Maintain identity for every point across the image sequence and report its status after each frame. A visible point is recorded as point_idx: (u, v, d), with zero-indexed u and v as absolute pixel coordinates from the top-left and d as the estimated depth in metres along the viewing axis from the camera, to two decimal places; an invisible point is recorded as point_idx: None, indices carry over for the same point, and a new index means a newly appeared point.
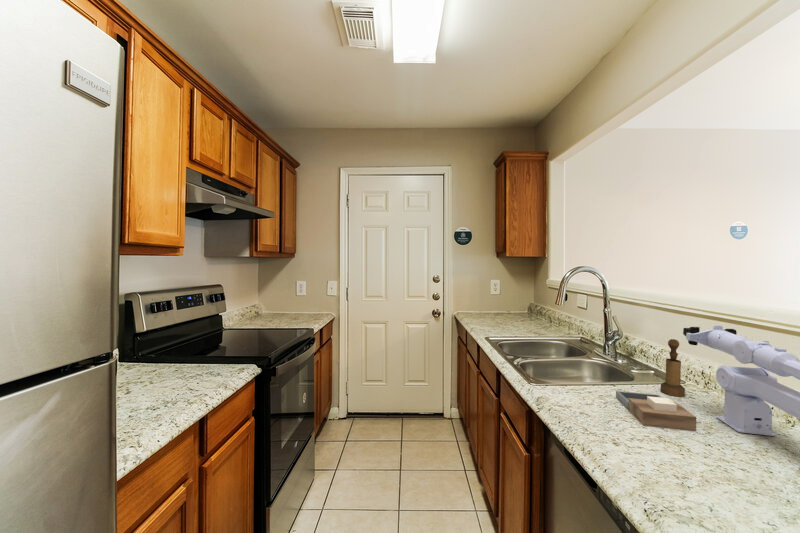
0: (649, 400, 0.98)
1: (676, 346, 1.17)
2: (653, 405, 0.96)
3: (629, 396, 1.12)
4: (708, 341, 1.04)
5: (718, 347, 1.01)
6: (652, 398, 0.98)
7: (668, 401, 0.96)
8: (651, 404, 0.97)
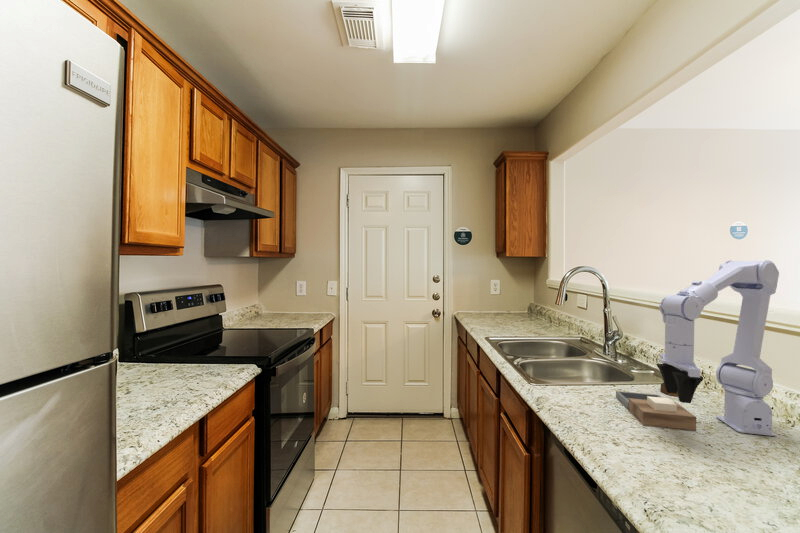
0: (649, 400, 0.98)
1: None
2: (653, 405, 0.96)
3: (629, 396, 1.12)
4: (688, 361, 0.86)
5: (691, 345, 0.86)
6: (652, 398, 0.98)
7: (668, 401, 0.96)
8: (651, 404, 0.97)
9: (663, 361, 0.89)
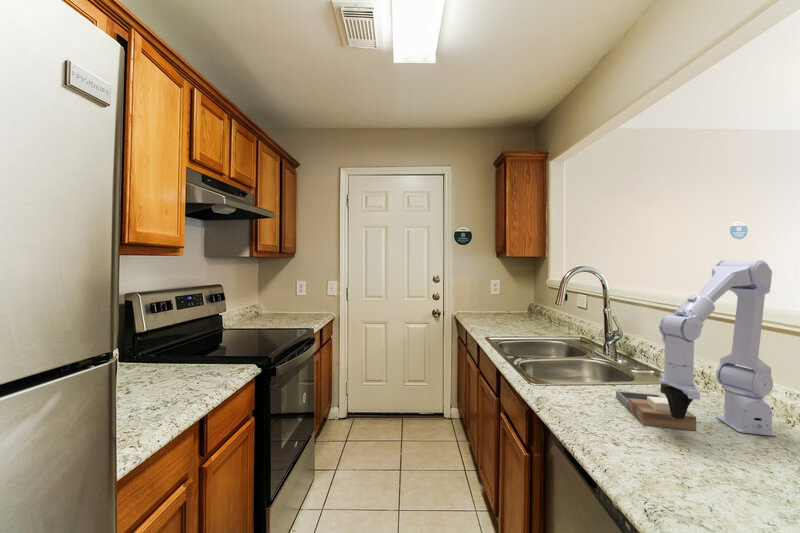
0: (649, 400, 0.98)
1: None
2: (653, 405, 0.96)
3: (629, 396, 1.12)
4: (687, 382, 0.86)
5: (690, 366, 0.86)
6: (652, 398, 0.98)
7: None
8: (651, 404, 0.97)
9: (663, 381, 0.89)
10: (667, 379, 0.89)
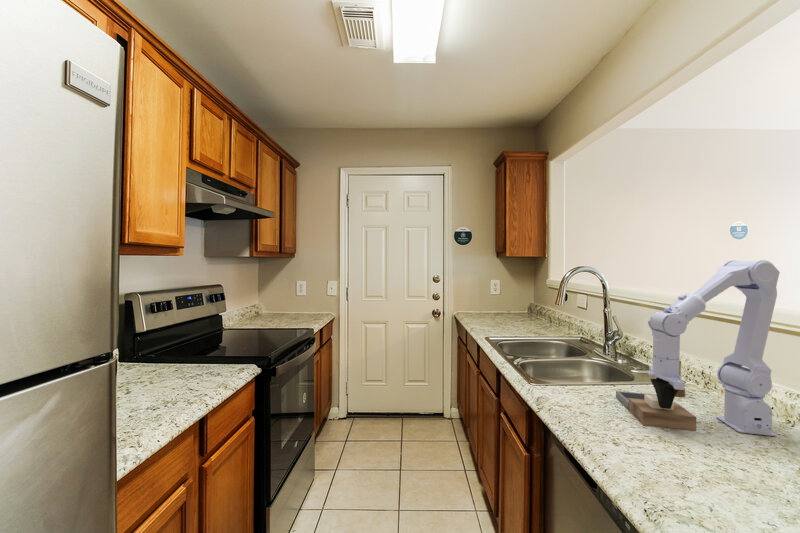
0: (646, 398, 1.00)
1: None
2: (650, 403, 0.98)
3: (629, 396, 1.12)
4: (674, 374, 0.92)
5: (676, 359, 0.92)
6: (649, 396, 1.00)
7: None
8: (648, 402, 0.99)
9: (651, 374, 0.95)
10: (655, 371, 0.95)
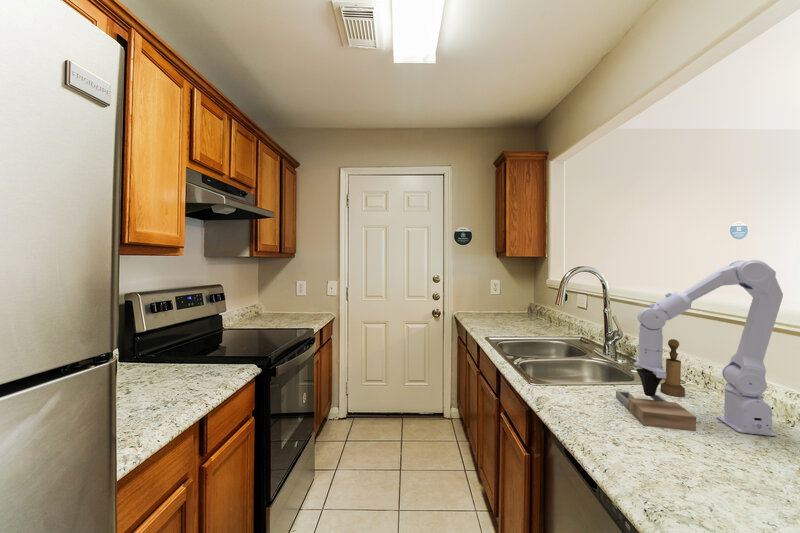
0: None
1: (676, 346, 1.17)
2: (630, 396, 1.11)
3: None
4: (657, 364, 1.01)
5: (660, 351, 1.01)
6: None
7: None
8: (631, 397, 1.10)
9: (637, 364, 1.04)
10: (640, 362, 1.04)
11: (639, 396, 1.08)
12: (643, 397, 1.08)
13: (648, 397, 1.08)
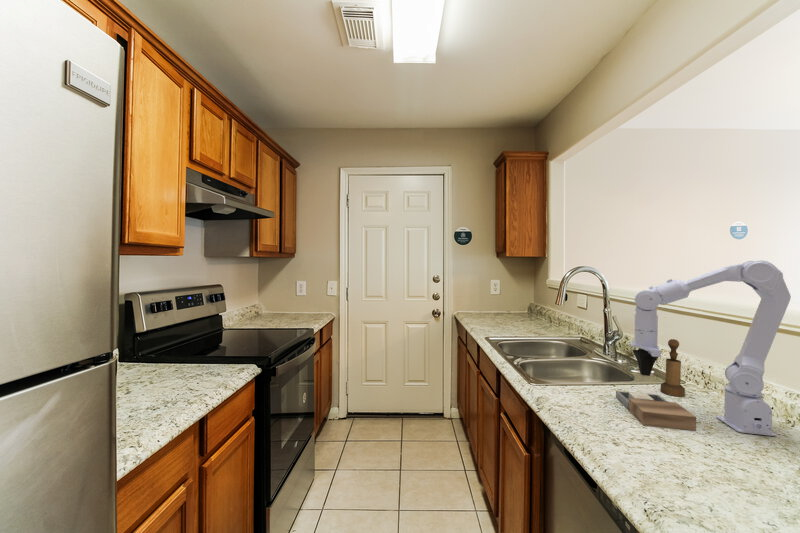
0: None
1: (676, 346, 1.17)
2: (630, 396, 1.11)
3: None
4: (652, 344, 1.04)
5: (655, 331, 1.04)
6: None
7: None
8: (631, 397, 1.10)
9: (633, 345, 1.07)
10: (636, 343, 1.07)
11: (639, 396, 1.08)
12: (643, 397, 1.08)
13: (648, 397, 1.08)
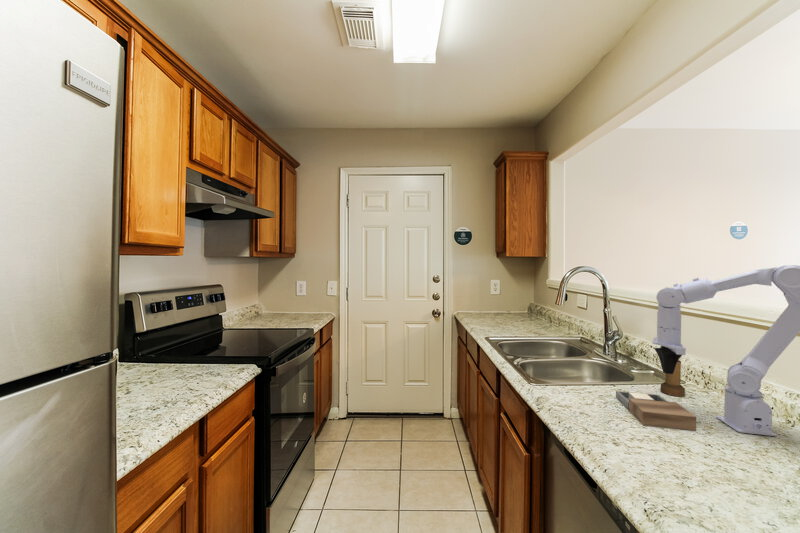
0: None
1: None
2: (630, 396, 1.11)
3: None
4: (676, 342, 1.03)
5: (678, 329, 1.03)
6: None
7: None
8: (631, 397, 1.10)
9: (655, 343, 1.06)
10: (659, 341, 1.06)
11: (639, 396, 1.08)
12: (643, 397, 1.08)
13: (648, 397, 1.08)
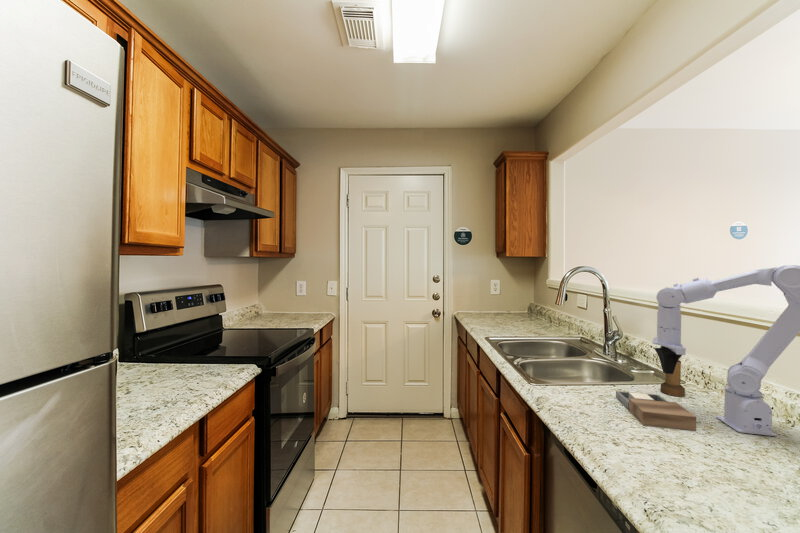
0: None
1: None
2: (630, 396, 1.11)
3: None
4: (676, 342, 1.03)
5: (678, 329, 1.03)
6: None
7: None
8: (631, 397, 1.10)
9: (655, 343, 1.06)
10: (659, 341, 1.06)
11: (639, 396, 1.08)
12: (643, 397, 1.08)
13: (648, 397, 1.08)
